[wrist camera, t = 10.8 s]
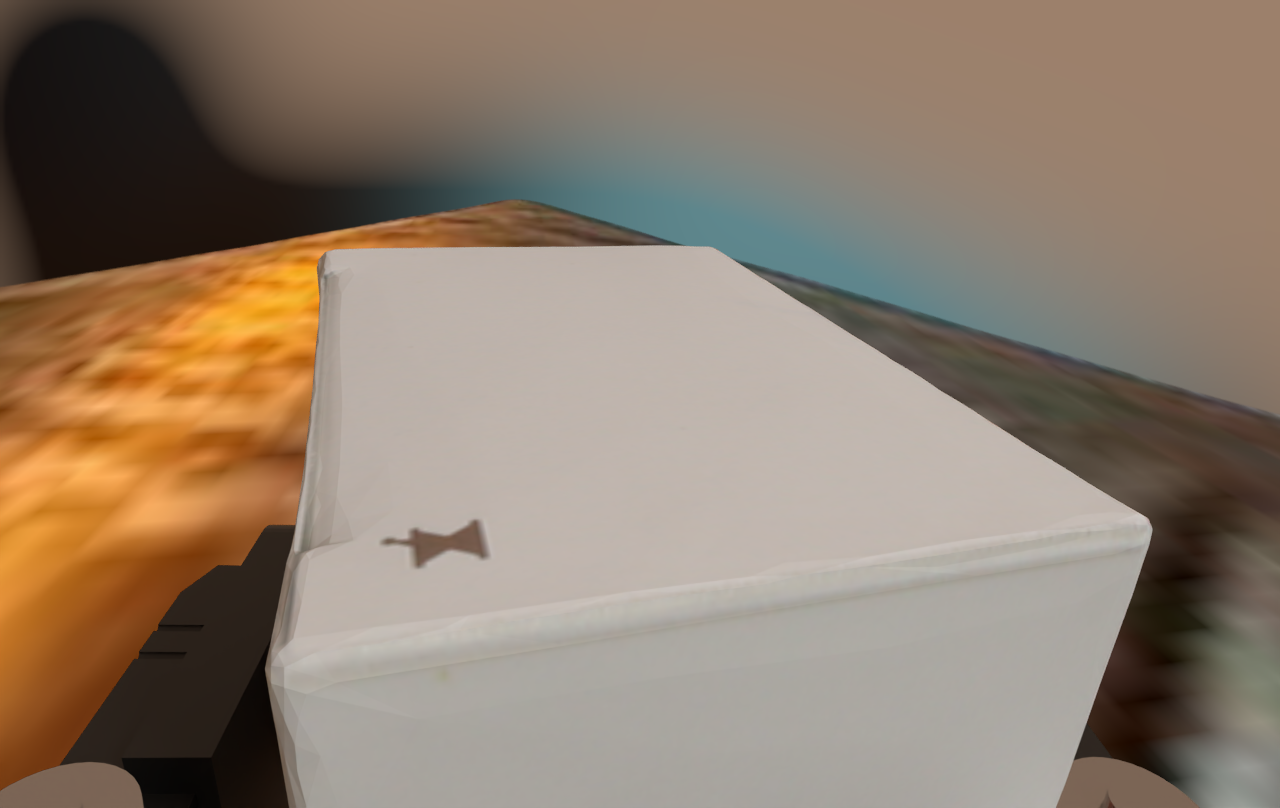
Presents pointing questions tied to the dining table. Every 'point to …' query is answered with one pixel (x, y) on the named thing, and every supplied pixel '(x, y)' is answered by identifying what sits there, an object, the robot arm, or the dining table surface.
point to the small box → (668, 553)
